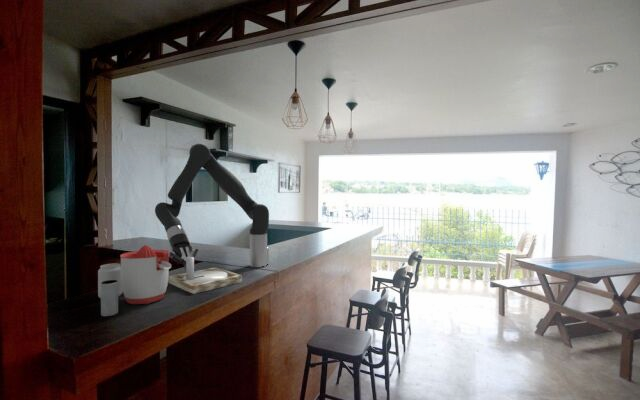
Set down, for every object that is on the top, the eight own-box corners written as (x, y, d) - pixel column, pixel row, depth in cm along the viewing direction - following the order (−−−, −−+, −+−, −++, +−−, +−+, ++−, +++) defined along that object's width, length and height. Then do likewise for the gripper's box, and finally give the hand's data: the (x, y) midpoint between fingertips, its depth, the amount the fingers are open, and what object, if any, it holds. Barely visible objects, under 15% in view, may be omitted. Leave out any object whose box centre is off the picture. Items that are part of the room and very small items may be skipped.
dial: (213, 271, 146) (213, 249, 146) (235, 278, 134) (235, 254, 134) (175, 279, 132) (175, 255, 132) (196, 287, 120) (196, 261, 120)
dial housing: (215, 273, 149) (215, 266, 149) (242, 282, 134) (242, 274, 134) (168, 283, 132) (168, 275, 132) (192, 294, 117) (192, 286, 117)
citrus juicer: (152, 309, 102) (152, 249, 101) (108, 305, 105) (108, 247, 105) (182, 294, 117) (182, 242, 117) (143, 291, 120) (143, 241, 120)
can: (113, 300, 111) (113, 267, 110) (93, 300, 111) (92, 266, 110) (127, 293, 118) (126, 262, 118) (107, 293, 118) (107, 262, 118)
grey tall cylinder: (115, 309, 101) (115, 278, 101) (120, 313, 98) (120, 281, 98) (99, 314, 98) (98, 281, 98) (103, 317, 95) (103, 284, 95)
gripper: (164, 234, 131) (177, 267, 123) (194, 231, 141) (207, 262, 133) (159, 244, 135) (171, 278, 127) (189, 241, 144) (202, 272, 136)
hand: (190, 269), depth 130 cm, fingers closed
